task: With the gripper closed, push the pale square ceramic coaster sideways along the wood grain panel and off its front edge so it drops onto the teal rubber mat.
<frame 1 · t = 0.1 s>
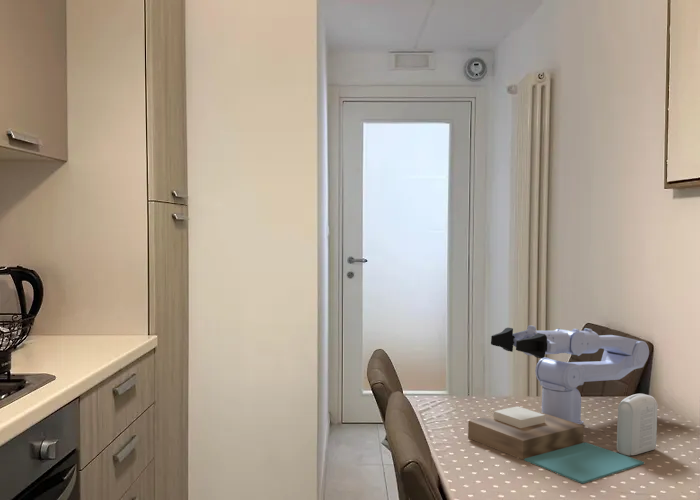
hand: (504, 342, 146), 22 cm above the table, tool horizontal, fingers open, 7 cm apart
coaster: (519, 420, 145), point 4 cm above the table, touching wood grain panel
wood grain panel: (525, 440, 144), on the table
mat: (584, 462, 131), on the table
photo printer: (636, 451, 138), on the table
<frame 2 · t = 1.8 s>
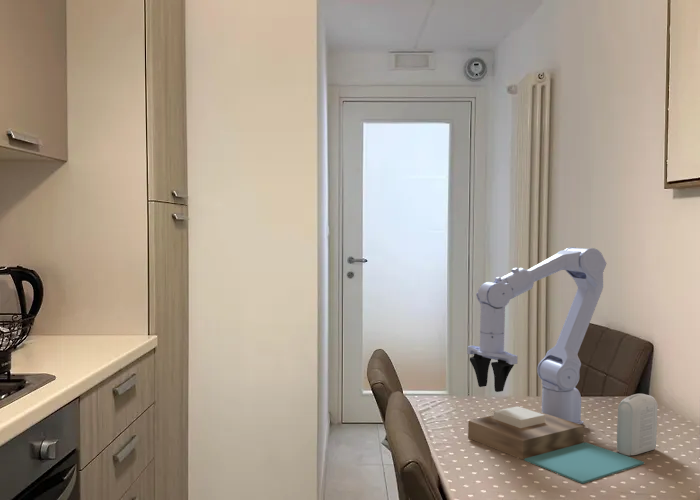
hand: (490, 388, 153), 9 cm above the table, tool pointing down, fingers open, 5 cm apart
nothing on the table moved.
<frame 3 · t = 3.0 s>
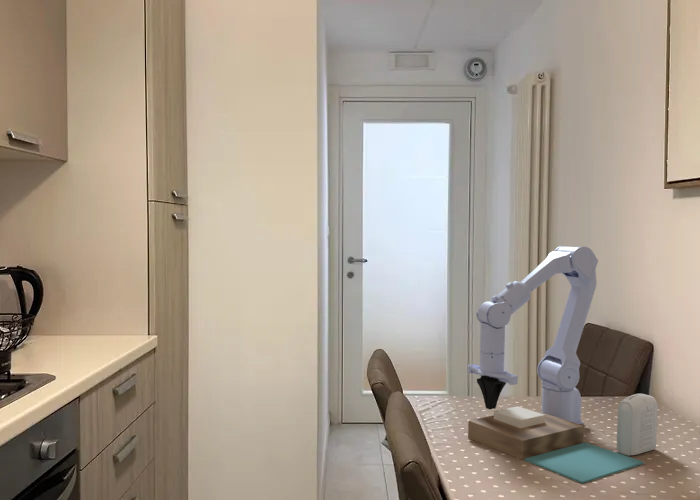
hand: (490, 408, 153), 5 cm above the table, tool pointing down, fingers closed
nothing on the table moved.
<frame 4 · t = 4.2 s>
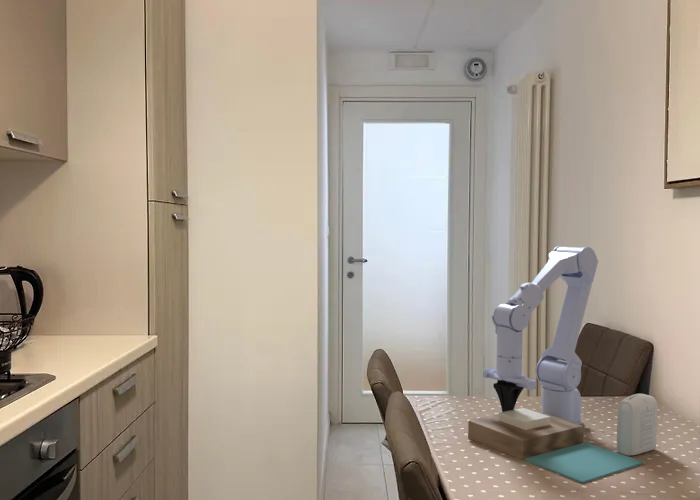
hand: (507, 413, 148), 5 cm above the table, tool pointing down, fingers closed
coaster: (524, 422, 144), point 4 cm above the table
everything else where it was.
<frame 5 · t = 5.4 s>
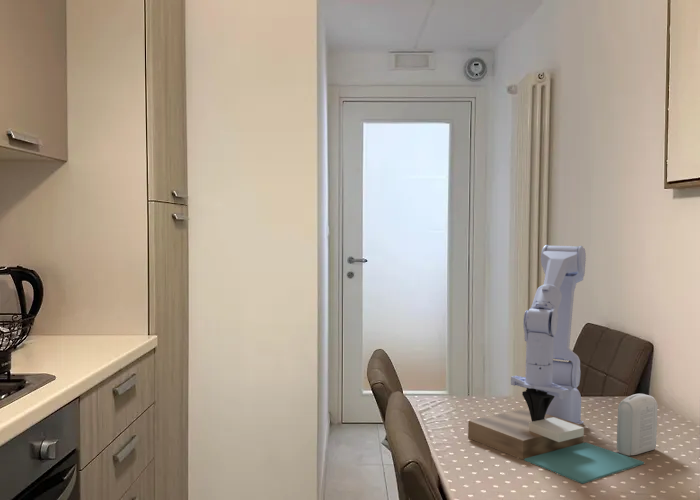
hand: (537, 423, 141), 5 cm above the table, tool pointing down, fingers closed
coaster: (555, 433, 137), point 4 cm above the table, touching wood grain panel, gripper
everything else where it was.
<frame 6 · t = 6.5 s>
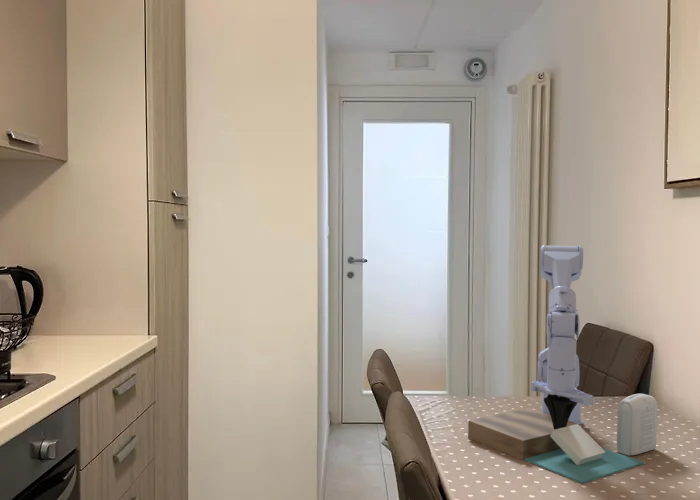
hand: (559, 431, 136), 5 cm above the table, tool pointing down, fingers closed
coaster: (575, 447, 133), point 2 cm above the table, tilted 30°
everything else where it was.
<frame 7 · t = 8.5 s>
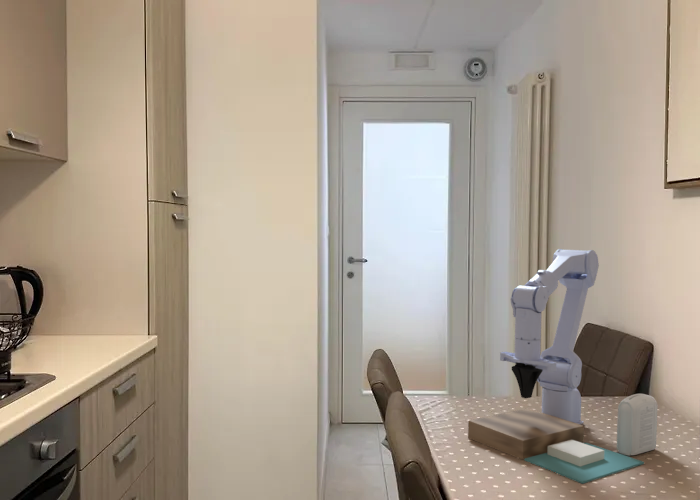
hand: (526, 397, 146), 9 cm above the table, tool pointing down, fingers closed
coaster: (575, 456, 133), resting on mat
everything else where it was.
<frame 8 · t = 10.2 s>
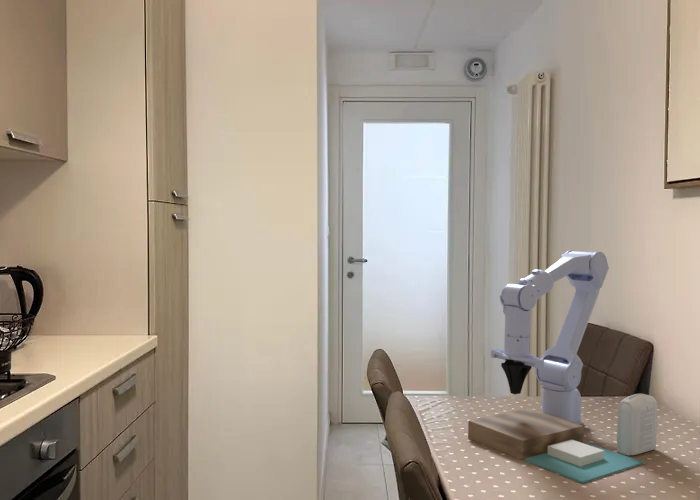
hand: (515, 393, 149), 9 cm above the table, tool pointing down, fingers closed
nothing on the table moved.
at the end: coaster inside the target area (2.3 cm from its centre), resting on mat; coaster touching mat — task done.
